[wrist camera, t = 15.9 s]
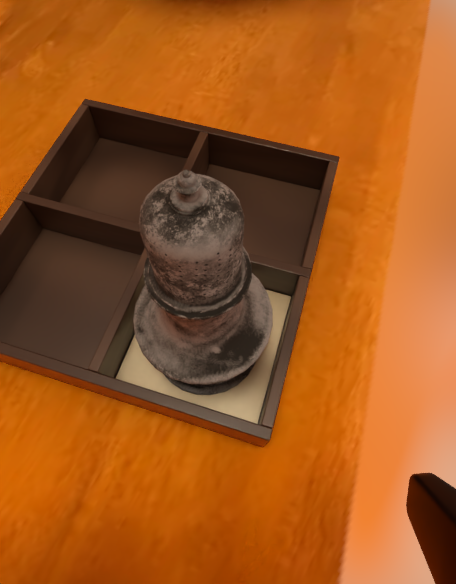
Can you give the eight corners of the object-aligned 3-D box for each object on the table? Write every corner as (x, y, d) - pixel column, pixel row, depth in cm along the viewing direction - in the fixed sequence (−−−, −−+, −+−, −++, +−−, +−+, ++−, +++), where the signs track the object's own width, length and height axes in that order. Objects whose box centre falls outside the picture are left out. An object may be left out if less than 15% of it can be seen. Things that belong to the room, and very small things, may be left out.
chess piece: (163, 282, 21) (101, 73, 10) (271, 298, 21) (322, 100, 10) (134, 390, 19) (11, 260, 8) (256, 411, 18) (303, 306, 8)
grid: (263, 447, 18) (269, 441, 16) (-37, 349, 20) (-76, 329, 18) (327, 190, 25) (339, 156, 22) (98, 135, 27) (84, 98, 24)
